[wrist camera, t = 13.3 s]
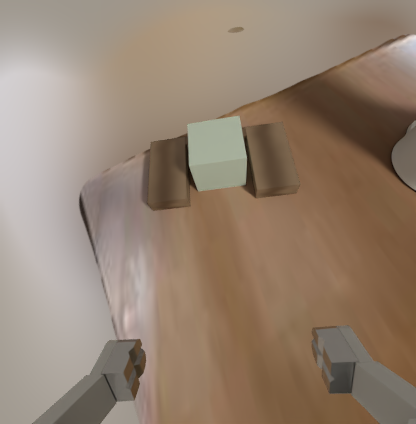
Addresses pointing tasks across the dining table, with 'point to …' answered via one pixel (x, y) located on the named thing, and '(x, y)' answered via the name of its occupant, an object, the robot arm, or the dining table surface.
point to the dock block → (258, 158)
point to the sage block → (217, 153)
